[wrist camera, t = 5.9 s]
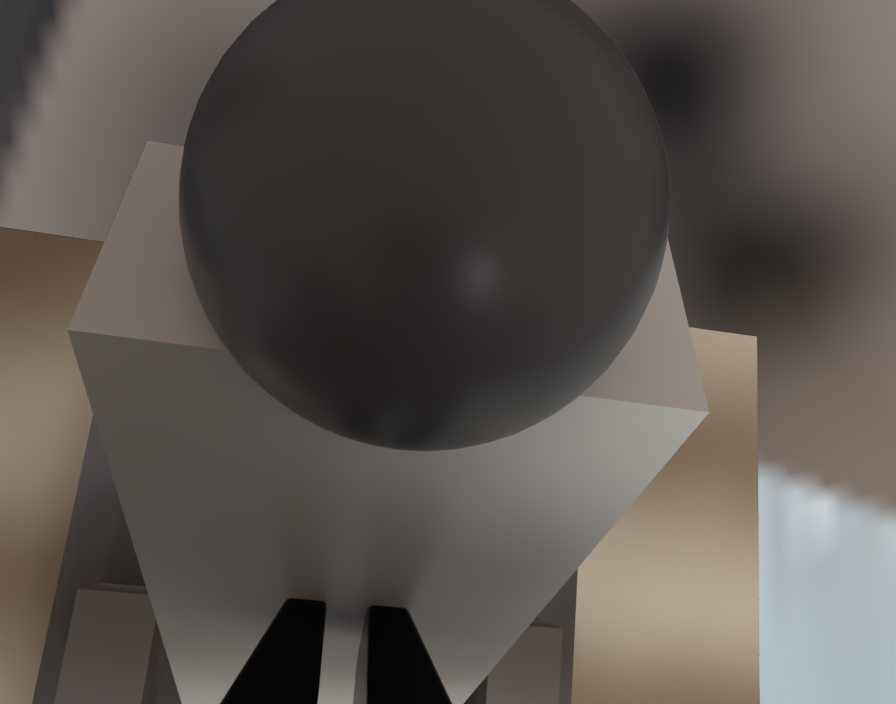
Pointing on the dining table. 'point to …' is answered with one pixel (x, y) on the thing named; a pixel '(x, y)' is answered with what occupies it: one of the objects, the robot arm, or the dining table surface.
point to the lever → (388, 331)
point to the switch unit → (517, 673)
